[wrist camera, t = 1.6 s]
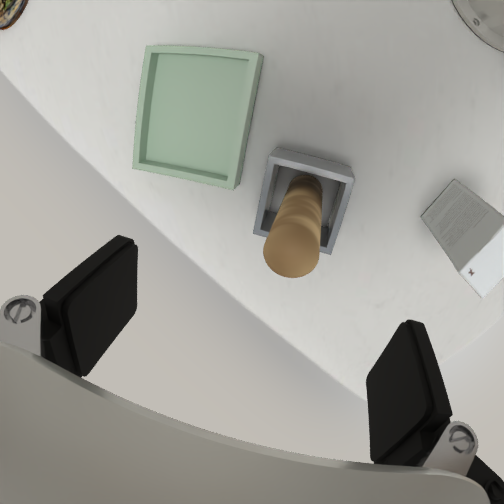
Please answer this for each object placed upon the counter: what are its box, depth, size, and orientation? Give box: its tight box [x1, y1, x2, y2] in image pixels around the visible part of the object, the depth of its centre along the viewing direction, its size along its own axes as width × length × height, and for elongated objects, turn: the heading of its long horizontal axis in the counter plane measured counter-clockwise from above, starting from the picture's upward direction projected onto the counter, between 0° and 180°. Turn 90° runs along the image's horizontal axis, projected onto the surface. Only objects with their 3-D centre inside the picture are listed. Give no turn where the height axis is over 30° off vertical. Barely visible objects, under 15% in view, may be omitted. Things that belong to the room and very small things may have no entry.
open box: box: [253, 147, 355, 255], centre depth 30 cm, size 8×8×5 cm
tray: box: [132, 46, 264, 190], centre depth 29 cm, size 12×14×2 cm
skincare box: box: [421, 179, 504, 298], centre depth 24 cm, size 6×4×12 cm
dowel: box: [263, 175, 323, 278], centre depth 26 cm, size 4×4×14 cm
